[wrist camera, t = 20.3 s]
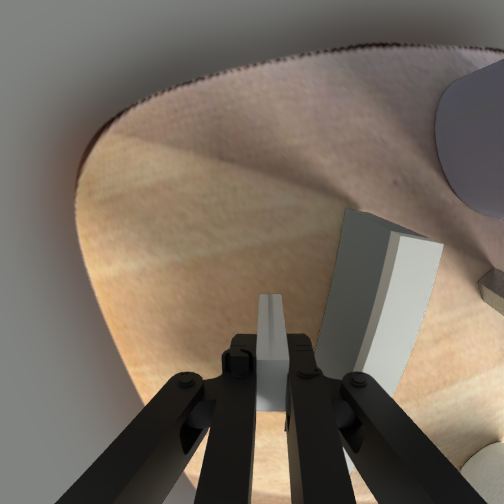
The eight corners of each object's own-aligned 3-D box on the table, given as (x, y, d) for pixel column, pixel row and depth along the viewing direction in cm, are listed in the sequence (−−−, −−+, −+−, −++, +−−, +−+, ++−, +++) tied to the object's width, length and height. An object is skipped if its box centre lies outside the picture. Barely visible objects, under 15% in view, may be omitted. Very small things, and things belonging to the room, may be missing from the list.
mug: (409, 500, 26) (429, 573, 13) (434, 454, 23) (471, 542, 10) (494, 468, 24) (524, 526, 12) (525, 418, 22) (569, 479, 9)
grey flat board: (323, 398, 21) (338, 491, 12) (300, 396, 21) (307, 492, 13) (370, 213, 18) (443, 244, 9) (343, 208, 18) (400, 235, 9)
